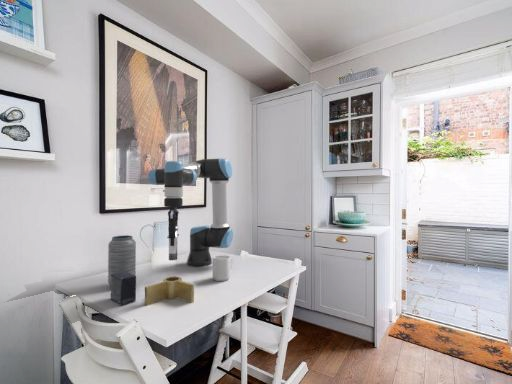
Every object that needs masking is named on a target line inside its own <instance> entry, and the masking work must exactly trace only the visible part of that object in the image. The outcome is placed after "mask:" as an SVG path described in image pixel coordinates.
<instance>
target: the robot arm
mask: <svg viewBox="0 0 512 384" xmlns="http://www.w3.org/2000/svg"><path fill="white" fill-rule="evenodd" d="M232 176H233V168H232V164H231V162H230V161H229V159H227V158H202V159H198V160H195V161H194V160H193V161H190V162H188V163H187V164H183V162H182V161H178V160H173V161H172V160H169V161H166V162H164V168H153V169H150V170H149V171H148V174H147V179H148V182H149V183H150V184H151V185H156V186H157V185H158V186H159V185H164V186H163V187H164V189H162V192H163V194H164V197H165V198H164V200H163V203H164V204H163V207H165V208H169V211H167V216H168V217H167V219H168V227H169V231H168V235H167V239H168V255H169V254H174V253H176V238H175V237H176V226H179V225H178V221H179V211H180V210H178V208H180V207H183V202H184V201H183V200H184V199H183V196H184V194H183V193H184V192H183V191H184V190H183V189H184V188H183V185H186V186H190V185H193V184H195V183H196V181H197V179H198V178H199V179H209V182H210V183H211V194H212V195H211V197H212V198H211V200H212V204H211V205H212V223H211V225H210V226H209V225H198V226H194V227H191V228H190V231H189V254H188V257H187V259H186V265H187V266H190V267H205V266H209V265H212V264H213V258H212V256H211V252H210V248H217V249H227V248H229V247H230V246H231V245H232V242H233V238H234V231H233V228H231V227H230V225H229V223H228V207H227V206H228V205H227V204H228V203H227V202H228V201H227V197H228V195H227V184H228V183H229V180H230V179H231V178H232ZM177 237H179V232H178V231H177Z"/></svg>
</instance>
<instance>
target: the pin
mask: <svg viewBox="0 0 512 384" xmlns="http://www.w3.org/2000/svg"><path fill="white" fill-rule="evenodd" d="M178 231H179V225H177V226H176V237H175V238H176V253H174V254H169V253H168V261H177V260H178V236H177V234H178V233H177V232H178ZM168 232H169V226H168Z"/></svg>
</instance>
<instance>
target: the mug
mask: <svg viewBox="0 0 512 384" xmlns="http://www.w3.org/2000/svg"><path fill="white" fill-rule="evenodd" d="M233 259H234V258H233V257H230V255H222V254H221V255H219V254H218V255H214V256H213V257H212V279H213V280H214V281H215V282H225V281H228V280H229V279H230V278H231V271H232V269H233V264H234V263H233Z"/></svg>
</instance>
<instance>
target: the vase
mask: <svg viewBox="0 0 512 384" xmlns="http://www.w3.org/2000/svg"><path fill="white" fill-rule="evenodd" d="M136 247H137V243H136V240H135V239H134V238H133V235H128V234H126V235H116V236H112V238H111V240H110V241H109V242H108V246H107V248H108V250H107V251H108V252H107V253H108V254H107V255H108V256H107V260H108V261H107V264H108V265H107V269H108V270H107V283H108V284H109V286H111V274H113V273H119V272H125V271H126V272H128V273H130V274H133V275H135V276H136V277H137V275H136V272H137V271H136V269H137V268H136V265H137V264H136V262H137V261H136V260H137V259H136V258H137V257H136V256H137V252H136V251H137V250H136V249H137V248H136Z"/></svg>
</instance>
